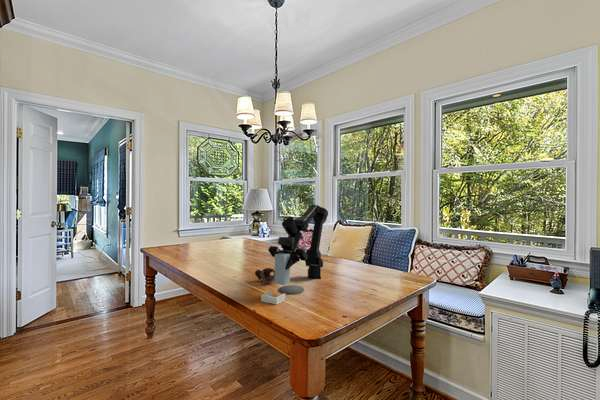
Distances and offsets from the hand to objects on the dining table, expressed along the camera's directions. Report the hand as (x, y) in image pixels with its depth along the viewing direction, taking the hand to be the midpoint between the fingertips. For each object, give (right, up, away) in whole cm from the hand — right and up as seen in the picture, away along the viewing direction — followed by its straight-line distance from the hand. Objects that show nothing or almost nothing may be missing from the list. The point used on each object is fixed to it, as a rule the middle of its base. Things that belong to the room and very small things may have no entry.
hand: (280, 268), depth 129 cm
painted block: (+1, -7, +1) cm, 7 cm away
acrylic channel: (-3, -12, -5) cm, 13 cm away
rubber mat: (+4, -12, +8) cm, 15 cm away
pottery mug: (-9, -12, +22) cm, 27 cm away
